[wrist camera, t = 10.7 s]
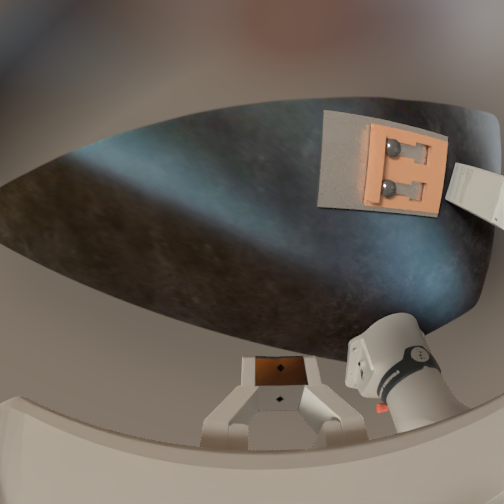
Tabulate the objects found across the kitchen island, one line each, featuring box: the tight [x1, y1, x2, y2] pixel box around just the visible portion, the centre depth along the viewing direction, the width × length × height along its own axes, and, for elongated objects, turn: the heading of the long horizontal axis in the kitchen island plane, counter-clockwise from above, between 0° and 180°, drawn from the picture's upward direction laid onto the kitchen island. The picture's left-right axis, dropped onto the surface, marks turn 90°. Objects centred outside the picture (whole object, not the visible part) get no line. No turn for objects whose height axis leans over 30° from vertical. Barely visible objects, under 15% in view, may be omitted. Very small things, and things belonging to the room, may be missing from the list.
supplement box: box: [445, 163, 504, 231], centre depth 31 cm, size 7×7×13 cm
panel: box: [364, 124, 448, 213], centre depth 34 cm, size 12×14×3 cm
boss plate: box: [316, 110, 448, 217], centre depth 35 cm, size 14×22×3 cm, turn 89°
